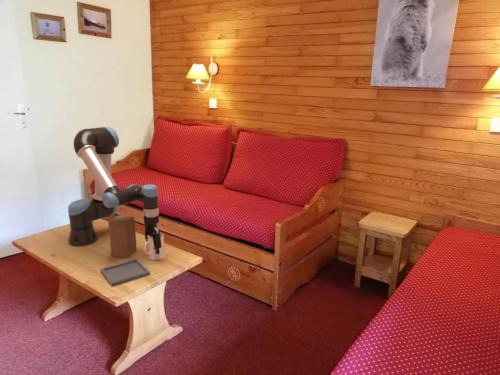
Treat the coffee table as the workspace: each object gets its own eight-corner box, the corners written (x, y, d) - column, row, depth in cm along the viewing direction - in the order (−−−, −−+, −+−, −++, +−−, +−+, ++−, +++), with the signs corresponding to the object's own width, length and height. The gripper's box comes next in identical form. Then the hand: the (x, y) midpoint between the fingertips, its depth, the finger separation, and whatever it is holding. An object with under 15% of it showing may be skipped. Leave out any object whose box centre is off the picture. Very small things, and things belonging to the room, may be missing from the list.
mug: (149, 264, 188) (148, 242, 184) (139, 258, 193) (138, 237, 190) (168, 256, 197) (167, 235, 193) (158, 251, 202) (157, 230, 198)
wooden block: (128, 258, 193) (125, 222, 187) (110, 256, 195) (107, 221, 189) (137, 250, 202) (135, 216, 197) (120, 248, 204) (117, 214, 198)
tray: (100, 272, 179) (100, 268, 179) (137, 261, 190) (137, 258, 189) (111, 286, 167) (111, 282, 166) (149, 274, 178) (149, 271, 177)
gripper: (136, 210, 194) (139, 250, 201) (152, 222, 178) (155, 265, 185) (150, 208, 199) (152, 247, 205) (167, 219, 183) (169, 261, 189)
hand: (153, 255), depth 195 cm, fingers closed on mug, 8 cm apart
